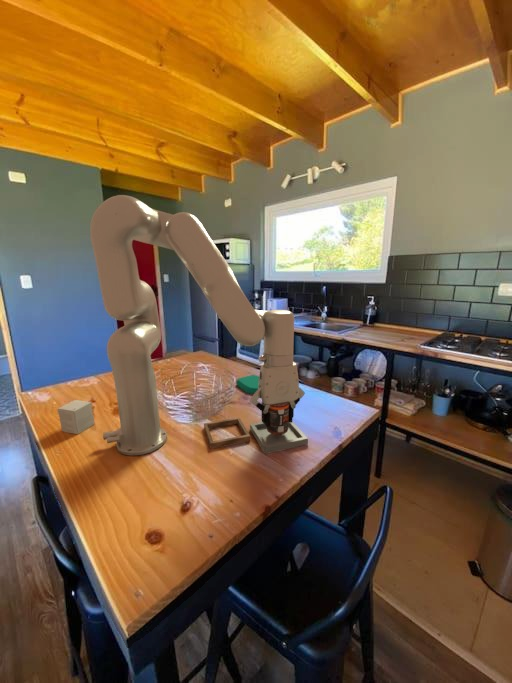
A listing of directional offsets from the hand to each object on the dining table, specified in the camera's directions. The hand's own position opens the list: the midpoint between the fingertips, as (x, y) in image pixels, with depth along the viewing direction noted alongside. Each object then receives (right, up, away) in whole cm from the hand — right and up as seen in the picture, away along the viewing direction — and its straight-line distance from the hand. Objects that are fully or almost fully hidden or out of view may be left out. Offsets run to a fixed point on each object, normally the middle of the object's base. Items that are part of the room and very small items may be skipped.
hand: (277, 421), depth 78 cm
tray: (0, -4, +1) cm, 5 cm away
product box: (-58, -4, +7) cm, 58 cm away
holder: (-14, -4, +3) cm, 15 cm away
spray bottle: (-3, +2, +30) cm, 31 cm away
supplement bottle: (0, -3, +1) cm, 3 cm away
